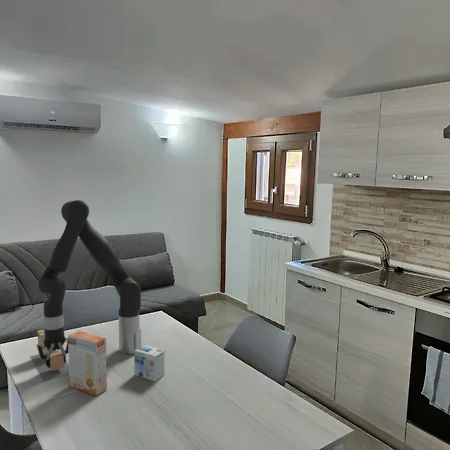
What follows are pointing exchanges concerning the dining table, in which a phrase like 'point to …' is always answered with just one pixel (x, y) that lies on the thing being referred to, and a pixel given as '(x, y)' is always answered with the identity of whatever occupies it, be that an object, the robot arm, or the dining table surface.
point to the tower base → (45, 353)
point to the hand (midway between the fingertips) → (56, 365)
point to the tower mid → (41, 337)
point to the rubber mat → (46, 372)
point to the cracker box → (87, 362)
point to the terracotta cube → (56, 361)
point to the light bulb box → (149, 362)
